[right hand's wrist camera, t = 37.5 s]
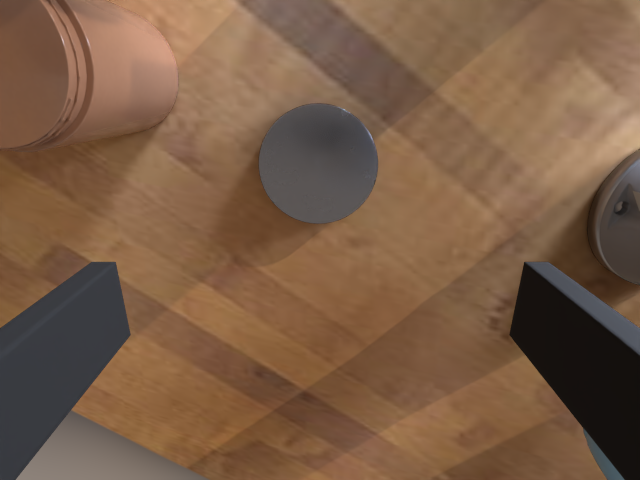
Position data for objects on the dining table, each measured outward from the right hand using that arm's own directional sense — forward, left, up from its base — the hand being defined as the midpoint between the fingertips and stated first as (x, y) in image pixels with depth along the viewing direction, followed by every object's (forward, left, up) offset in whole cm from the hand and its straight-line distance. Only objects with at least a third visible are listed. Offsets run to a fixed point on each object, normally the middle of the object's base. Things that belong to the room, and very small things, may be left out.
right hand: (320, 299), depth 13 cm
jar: (+10, -17, -26) cm, 33 cm away
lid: (0, 0, -25) cm, 25 cm away
